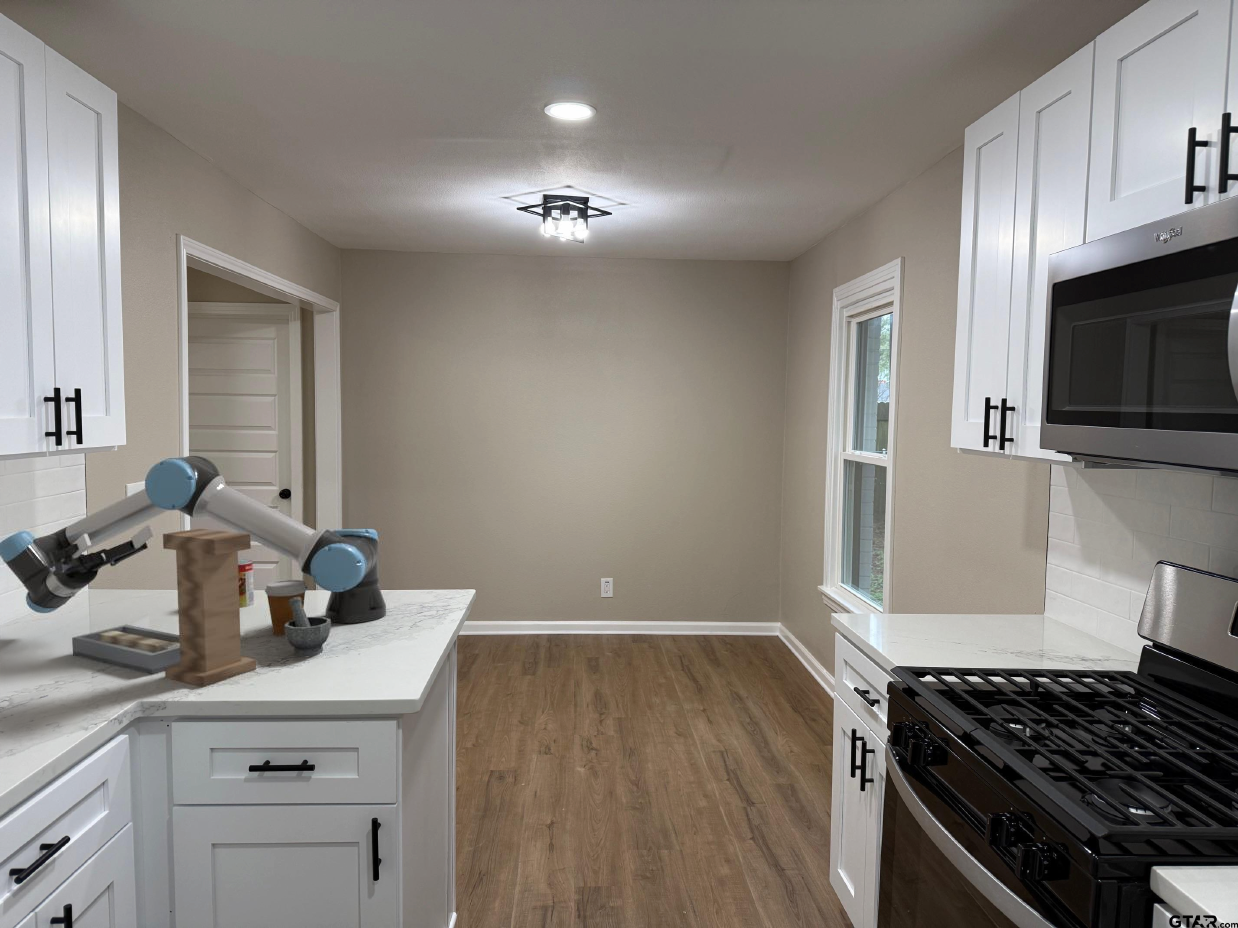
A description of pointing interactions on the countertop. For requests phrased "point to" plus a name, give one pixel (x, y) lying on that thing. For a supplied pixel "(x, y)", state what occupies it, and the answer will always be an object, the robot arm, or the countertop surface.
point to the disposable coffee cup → (283, 601)
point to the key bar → (136, 641)
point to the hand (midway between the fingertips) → (119, 534)
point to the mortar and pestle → (306, 631)
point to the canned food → (245, 582)
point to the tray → (128, 650)
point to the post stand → (208, 605)
